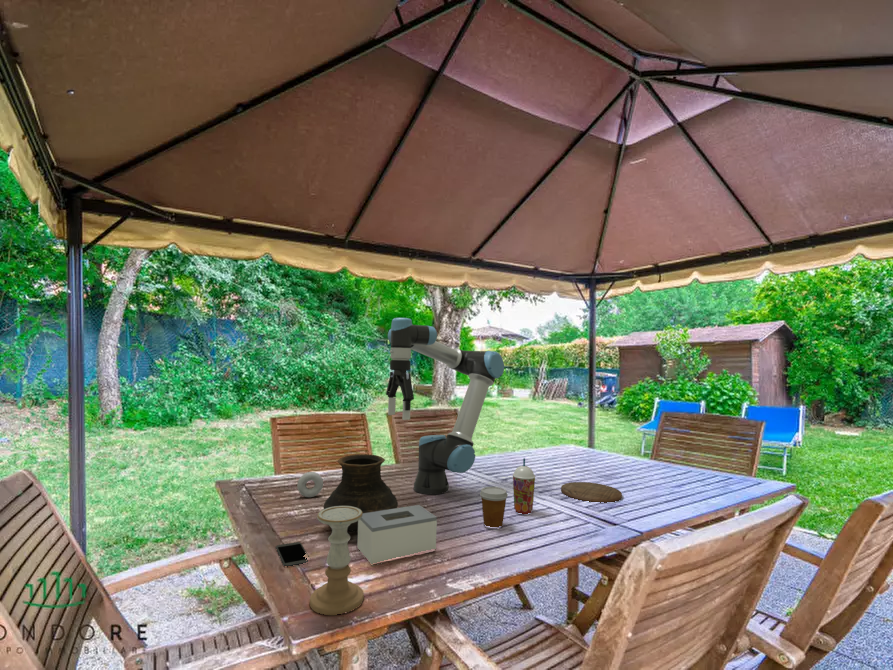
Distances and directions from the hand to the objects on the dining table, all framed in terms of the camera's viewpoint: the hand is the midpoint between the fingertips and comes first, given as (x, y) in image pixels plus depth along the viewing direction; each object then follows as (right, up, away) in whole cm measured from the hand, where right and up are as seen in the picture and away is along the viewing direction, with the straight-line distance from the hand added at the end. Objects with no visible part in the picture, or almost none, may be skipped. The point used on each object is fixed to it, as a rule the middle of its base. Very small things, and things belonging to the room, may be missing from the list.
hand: (398, 417), depth 164 cm
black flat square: (-26, -33, -37) cm, 56 cm away
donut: (-37, -35, +13) cm, 52 cm away
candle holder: (-8, -32, -61) cm, 69 cm away
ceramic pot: (-11, -34, -17) cm, 39 cm away
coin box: (+3, -33, -33) cm, 47 cm away
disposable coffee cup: (+34, -35, -12) cm, 50 cm away
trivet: (+80, -39, +28) cm, 93 cm away
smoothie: (+46, -36, +2) cm, 59 cm away
